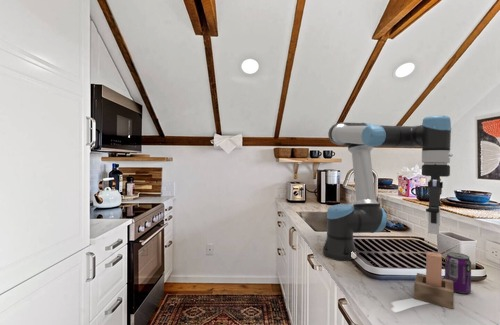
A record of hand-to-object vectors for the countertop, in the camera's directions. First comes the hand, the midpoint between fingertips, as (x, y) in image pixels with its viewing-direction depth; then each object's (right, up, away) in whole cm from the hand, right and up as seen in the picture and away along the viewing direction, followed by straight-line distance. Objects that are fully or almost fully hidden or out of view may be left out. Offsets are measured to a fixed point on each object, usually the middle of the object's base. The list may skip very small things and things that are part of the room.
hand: (434, 229), depth 86 cm
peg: (0, -22, 0) cm, 22 cm away
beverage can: (+12, -23, +5) cm, 26 cm away
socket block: (0, -22, 0) cm, 22 cm away
